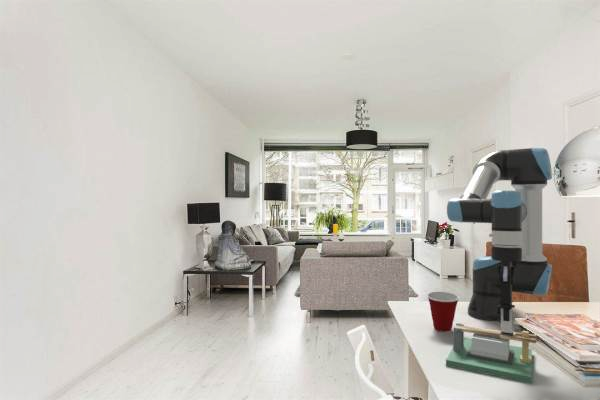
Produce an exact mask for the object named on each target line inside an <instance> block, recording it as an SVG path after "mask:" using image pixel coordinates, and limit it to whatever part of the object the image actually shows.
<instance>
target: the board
mask: <svg viewBox="0 0 600 400" xmlns="http://www.w3.org/2000/svg"><path fill="white" fill-rule="evenodd" d="M456 325H460V326H465V325H464V323H461V322H459V323H456V324H455V326H456ZM455 326H454V327H453V345H452V346H453V347H452V349H451V350H450V352H449V354H448V355H447V357H446V359H445V366H447V367H452V368H458V369H462V370H468V371H471V372H476V373H481V374H486V375H489V376H490V375H491V376H496V377H500V378H504V379H505V378H506V379H511V380H515V381H519V382H524V383H529V384H532V381H533V379H532V375H533V374H532V371H533V368H532V367H533V349H532V348H530V347H529V346H530V345H529V343H530V342H523V341H521V343H522V344H521V346H515V345H510V344H511V343H510V341H511V340H510V339H503V338H500V337H497V336H490V335H483V334H476V333H472V337H471V338H468V337H464V335H465V332H462V331H461V328H457V327H455ZM521 333H522V337H527V338H529V334H530V332H529V331H527V330H522V331H521Z"/></svg>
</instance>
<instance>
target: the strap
mask: <svg viewBox="0 0 600 400" xmlns="http://www.w3.org/2000/svg"><path fill="white" fill-rule="evenodd" d="M454 327H457V328H461V331H462V332H464V333H470V334H471V333H472V334H474V333H476V334H483V335H490V336H497V337H500V338H503V339H510V341H517V342H522V341H523V342H529V343H532V344H537V334H532V333H529V338H527V337H522V332H518V331H514V330H512V333H506V332H501V330H497V329H487V328H482V327H481V328H480V327H476V326H475V327H473V326H469V325H468V326H465V325H464V326H460V325H456V324H455V326H454Z"/></svg>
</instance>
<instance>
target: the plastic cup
mask: <svg viewBox="0 0 600 400" xmlns="http://www.w3.org/2000/svg"><path fill="white" fill-rule="evenodd" d="M426 296H427V299H428V302H429V307H430V313H431V314H430V315H431V319H432V325H433V328H434V330H436V331H438V332H448V333H449V332H451V331H452V328H453V325H454V321H455V320H454V319H455V315H456V309H457V306H458V302H459V300H460V296H459V295H458V294H456V293H452V292H448V291H431V292H428V293H427V294H426Z"/></svg>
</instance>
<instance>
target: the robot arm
mask: <svg viewBox="0 0 600 400" xmlns="http://www.w3.org/2000/svg"><path fill="white" fill-rule="evenodd" d="M552 179H553V172H552V165H551V159H550V154H549V152H548V149H546V148H543V147H531V148H516V149H515V148H514V149H500V150H496V151H493V152H492V153H491V152H490V153H489V154H487V155H486V156H485V155H484V157H483V158H481V159H480V160H479V161H477V163H476V164H475V165H474V167H473V170H472V176H471V179H469V182H468V183H467V185H466V187H465V189H464V191H463V192H462V194H461V196H460V197H459V198H457V197H455V198H450V199H449V200H448V201H447V205H446V215H447V216H446V217H447V218H448V220H449V221H450V222H456V223H471V224H472V223H479V224H491V233H488V236H489V237H490V238H491V245H493V246H491V249H490V250H491V254H490V256H481V257H476V258H474V260H473V261H472V269H471V270H472V294H471V298H470V300H469V303H468V306H467V314H468V315H469V316H471V317H473V318H477V319H481V320H485V321H495V322H496V321H498V322H500V331H501V332H506V333H512V331H513V309H515V307H516V305H515V304H513V293H517V294H518V293H519V294H525V295H526V294H527V295H532V296H533V295H537V296H545V295H546V294H547V293H548V291H549V288H550V287H549V286H550V283H551V282H550V281H551V276H552V268H553V265H552V264H550V263H548V259H547V257H546V256H545V255H544V254H543V189H545V187H546V186H547V185H548V181H549V180H552ZM499 181H510V186H511V187H512V188H513V189H514V190H495V191H493V192H492V193H491V198H488V196H489V195H490V192H491V190H492V188H493V185H494V184H495V183H498V182H499Z"/></svg>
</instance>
